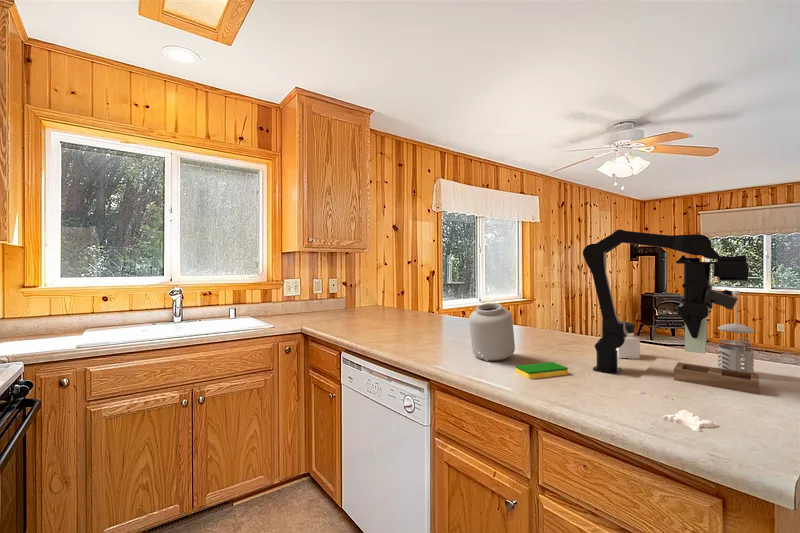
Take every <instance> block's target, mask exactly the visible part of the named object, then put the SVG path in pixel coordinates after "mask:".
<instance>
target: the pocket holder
mask: <svg viewBox="0 0 800 533" xmlns="http://www.w3.org/2000/svg"><path fill="white" fill-rule="evenodd" d="M673 381H677V382H683V383H689V384H695V385H700V386H706V387H711V388H717V389H722V390H727V391H735V392H741V393H746V394H751V395H756V396H757V395H758V396H759V395H760V377H759V373H755V372H754V373H748V372H741V371H734V370H728V369H721V368H718V367H715V366H714V367H713V366H712V367H711V366H706V365H699V364H692V363H686V362H685V363H684V362H679V361H678V362H677V364H676V365H675V367H674V368H673Z"/></svg>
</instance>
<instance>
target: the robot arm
mask: <svg viewBox="0 0 800 533" xmlns="http://www.w3.org/2000/svg"><path fill="white" fill-rule="evenodd" d="M622 244H632V245H638V246H639V245H640V246H646V247H657V248H662V249H669V250H672V251H675V252H679V253H682V254H683V253H684V254H687V255H690V256H701V257H703V258H704V259H706V260H707V259H708V260H715V261H701V259H700V257H686V256H685V255H681V256H680V257H679V259H677V260H675V264H678V265H680V264H682V265H683V282H682V288H683V290H682V291H683V292H682V295H683V297H682V298H681V303H680V304H678V305H677V313H678V314H680V316H681V318H682V319H683V322H684V325H685V324H686V326H687V328H688V330H689V332H690V334H691V336H692V338H697V337H698V334H699V330H700V326H701V322H702V320H703V319H704V318H706V317H707V318H708V317H709V315H710V313H711V312H712V309H713V308H714V307H713V305H714V304H715V305H717V306H721V307H724V309H727V310H731V311H732V310H734V308H735V307H736V302H737V303H738V300H739V298H738V296H737V297H736V295H735V296H734V295H733V294H732V292H733V291H731V290H728V289H724V290H722V291H719V290H715V289H713V284H711V281H710V280H711V264H712V277H713V278H715V277H717V281H718V282H720V281H721V282H748V279H749V270H750V268H749V266H748V261H747V255H735V256H734V255H731V256H729V255H728V256H727V255H726V256H724V255H719V253H718V252H716V250H714V248H713V247H712V242H711V239H710V238H709V237H708V236H707V235H705V234H700V233H698V234H697V233H695V234H677V235H676V234H675V235H674V234H673V235H672V234H671V235H669V234H659V233H648V232H642V231H641V232H639V231H632V230H631V231H630V230H624V229H615V231H613V232H612V233H611V234H609V235H607V236H606V237H604V238H603V239H601V240H599V241H598V242H596V243H590V244H587V245H586V246H585V247H584V249H583V250H582V255H583V258H584V261H585V263H586V265H587V268H588V270H590V273H591V275H592V278H593V283H594V287H595V291H596V296H597V300H598V304H599V308H600V313H601V317H602V322H601V326H602V327H601V332H602V333H601V334H602V337H600V339H598V340H597V341H596V343H595V344H594V349H595V350H596V365H595V366H594V367H592V370H593V371H597V372H603V373H608V374H614V375H616V374H618V373H619V372H620V371H621V370H622V368H621V367H618V366H619V365H618V364H619V363H618V359H619V358H618V351H617V350H616V349H617V348H619V347H621V346H622V345H623V344H624V341H625V339H626V336H627V334H628V332H627V331H626V328H625V322H626V321H625V320H620V319H619V316H618V315H617V311H616V308H615V303H614V299H613V295H612V290H611V287H610V286H611V285H610V282H609V278H608V273H607V253H609V252H611V251H612V250H614V249H615V248H617V247H618V246H620V245H622ZM710 309H711V310H710Z"/></svg>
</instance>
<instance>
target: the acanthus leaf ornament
mask: <svg viewBox="0 0 800 533" xmlns="http://www.w3.org/2000/svg"><path fill="white" fill-rule="evenodd" d="M661 419H662V421H668V422H671V423H674V424H678V425H683V426H686V427H688V428H690V429H691V430H692V431H695V432H699V433H700V432H702V429H701V428H708V427H711V428H714V427H716V426H719V427H720V425H719V424H718V423H715V422H713V421H712V420H708V419H704V420H703V419H702V420H701V416H699V415H694V413H693V412H691V411H688V410H686V409H682V410H680V411H678V413H675V415H674V414H666V415H662V416H661Z"/></svg>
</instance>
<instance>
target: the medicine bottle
mask: <svg viewBox="0 0 800 533" xmlns="http://www.w3.org/2000/svg"><path fill="white" fill-rule="evenodd" d="M625 328H626V331H627V332H628V334H627V336H626V339H625V341H624V344H623V345H622V346H621V347H619V348H617V349H616V350H617V351H618V359H619V358H628V360H629V359H631V360H632V359H633V360H640V359H641V358H640V357H641V352H640V349H641V347H640V346H641V339H640V338H639V337H637V336H635V325H634V323H632V322H629V321H625Z"/></svg>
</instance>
